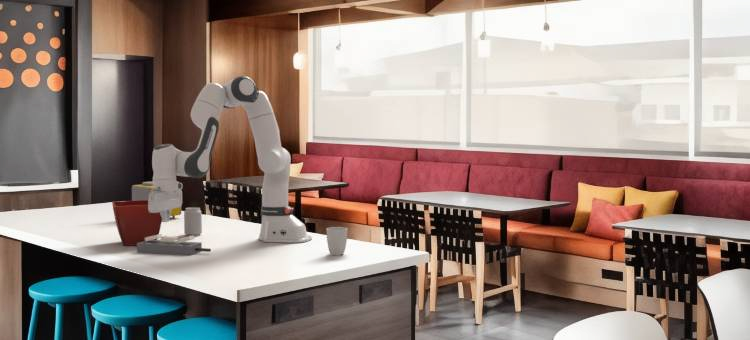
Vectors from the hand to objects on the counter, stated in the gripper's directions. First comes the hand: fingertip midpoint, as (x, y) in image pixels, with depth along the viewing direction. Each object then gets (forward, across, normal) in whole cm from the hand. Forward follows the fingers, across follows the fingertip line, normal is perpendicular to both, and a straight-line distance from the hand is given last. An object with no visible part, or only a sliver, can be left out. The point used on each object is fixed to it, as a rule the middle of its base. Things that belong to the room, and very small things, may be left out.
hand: (166, 221), depth 332 cm
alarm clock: (+11, +84, +53) cm, 100 cm away
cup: (+13, +13, -65) cm, 68 cm away
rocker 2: (+7, 0, -1) cm, 7 cm away
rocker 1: (+6, 0, +6) cm, 9 cm away
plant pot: (+12, +16, +22) cm, 29 cm away
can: (+12, +41, +10) cm, 44 cm away
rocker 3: (+7, 0, -8) cm, 11 cm away
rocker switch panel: (+12, 0, -4) cm, 13 cm away
